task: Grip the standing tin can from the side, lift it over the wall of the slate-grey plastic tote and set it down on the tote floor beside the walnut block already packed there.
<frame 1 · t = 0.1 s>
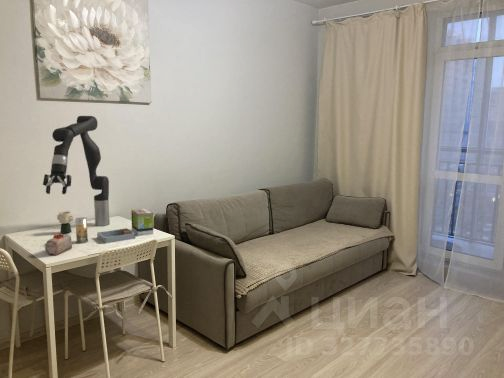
hand: (55, 193, 220), 31 cm above the table, tool tilted 20°, fingers open, 8 cm apart
tin can: (82, 241, 241), on the table
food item: (59, 252, 222), on the table
tea box: (142, 233, 260), on the table
tote: (116, 239, 247), on the table
walnut block: (126, 236, 250), point 1 cm above the table, touching tote
character mug: (66, 233, 259), on the table
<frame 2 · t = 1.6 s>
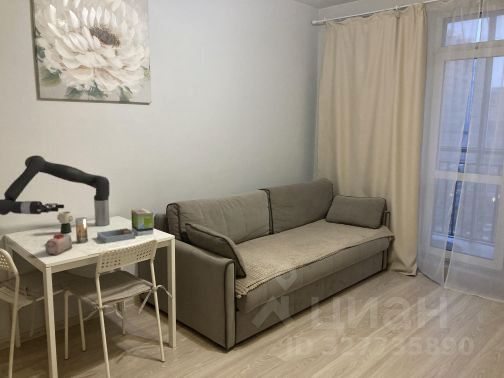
hand: (61, 207, 236), 20 cm above the table, tool horizontal, fingers open, 8 cm apart
nothing on the table moved.
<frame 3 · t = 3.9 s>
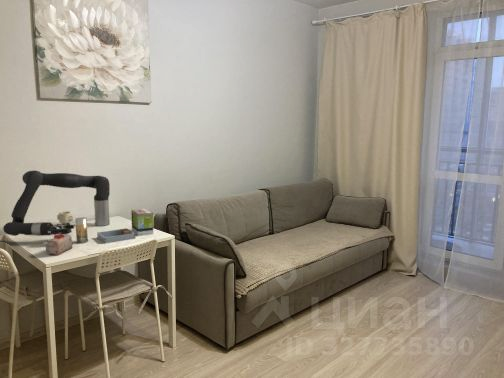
hand: (70, 228, 239), 8 cm above the table, tool horizontal, fingers open, 8 cm apart
nothing on the table moved.
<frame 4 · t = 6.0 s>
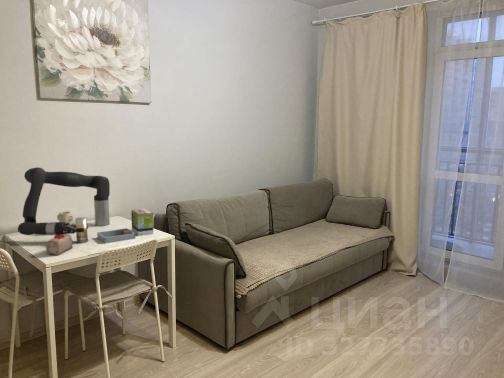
hand: (85, 228, 240), 8 cm above the table, tool horizontal, fingers closed on tin can, 6 cm apart
tin can: (82, 241, 241), on the table, touching gripper
everything else where it was.
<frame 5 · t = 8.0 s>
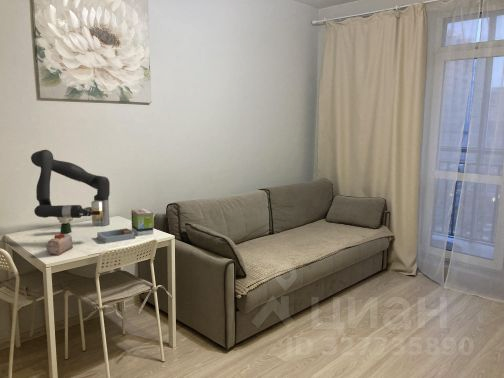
hand: (101, 211, 240), 18 cm above the table, tool horizontal, fingers closed on tin can, 6 cm apart
tin can: (97, 224, 242), point 10 cm above the table, touching gripper
everything else where it was.
when the fingers open (10 cm above the table, at t = 10.5 s): tin can drops 1 cm, resting on tote.
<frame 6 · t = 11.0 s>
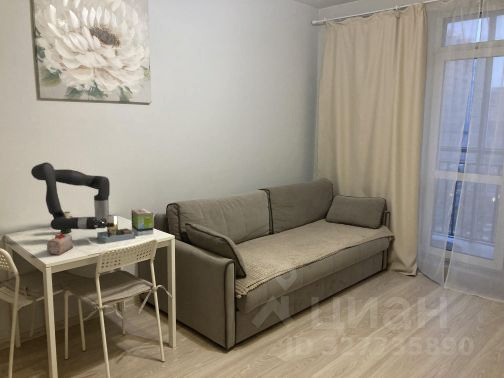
hand: (115, 223, 244), 10 cm above the table, tool horizontal, fingers open, 8 cm apart
tin can: (112, 238, 245), point 1 cm above the table, touching tote
everything else where it was.
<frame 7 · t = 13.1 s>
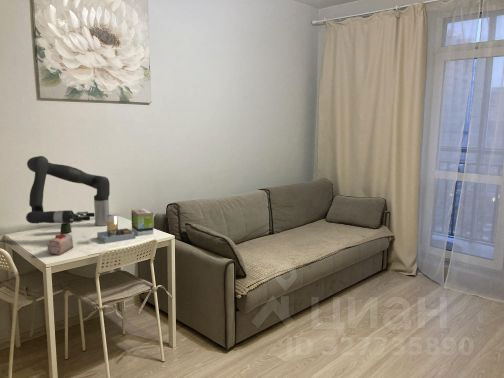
hand: (92, 216, 243), 14 cm above the table, tool horizontal, fingers open, 8 cm apart
nothing on the table moved.
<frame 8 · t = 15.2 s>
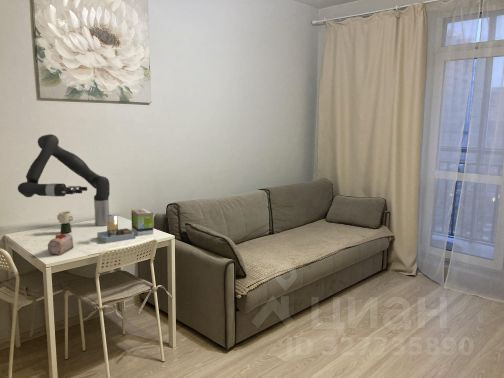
hand: (84, 190, 240), 30 cm above the table, tool horizontal, fingers open, 8 cm apart
at the end: tin can inside the target area on the tote (2.1 cm from its centre), point 0.8 cm above the tote's base; tin can tilted 1°; the gripper is holding nothing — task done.
